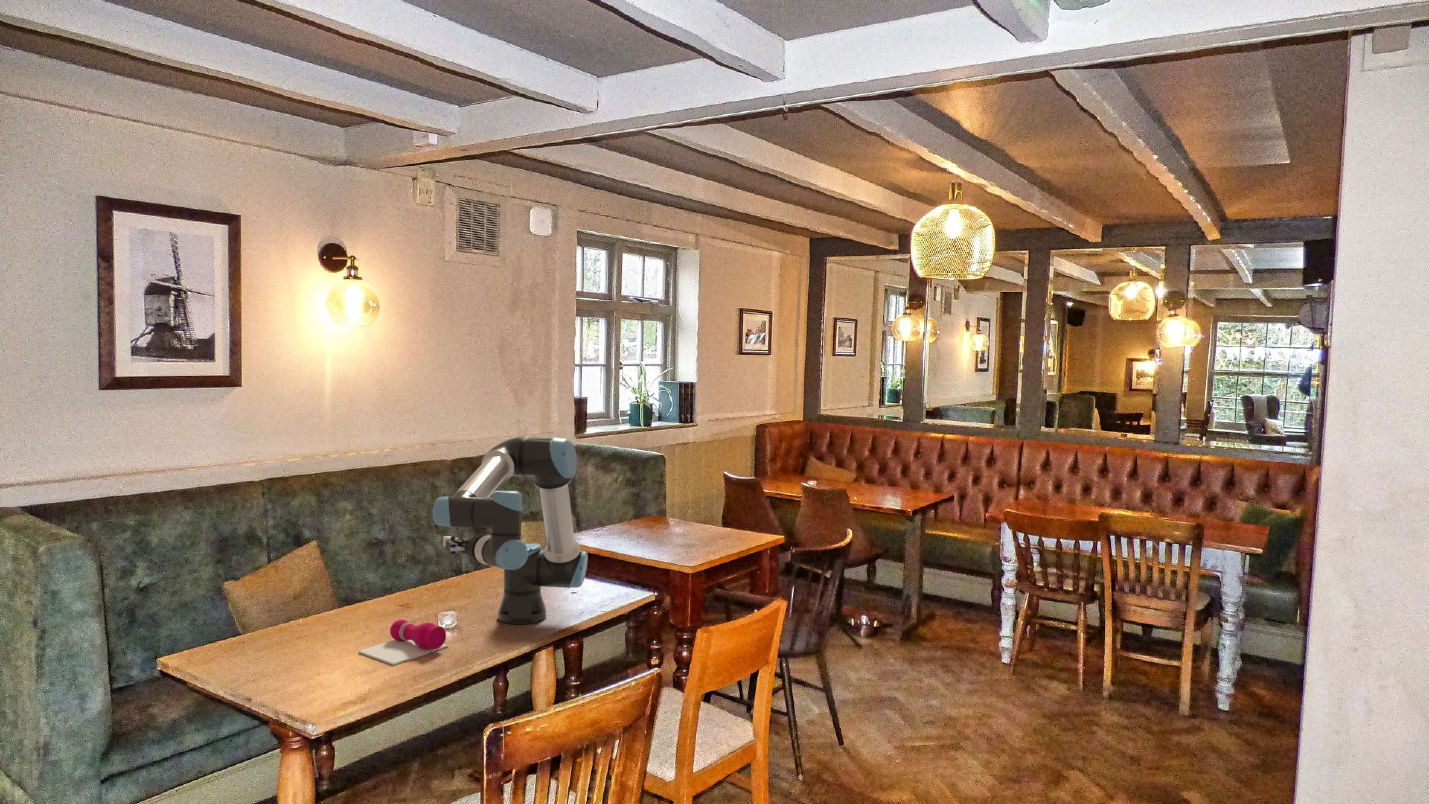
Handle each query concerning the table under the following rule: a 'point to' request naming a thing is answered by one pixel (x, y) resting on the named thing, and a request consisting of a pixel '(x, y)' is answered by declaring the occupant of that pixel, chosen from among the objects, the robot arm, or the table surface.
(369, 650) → the grey rubber mat
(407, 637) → the pepper mill
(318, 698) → the table surface
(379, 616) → the table surface
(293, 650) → the table surface
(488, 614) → the table surface
